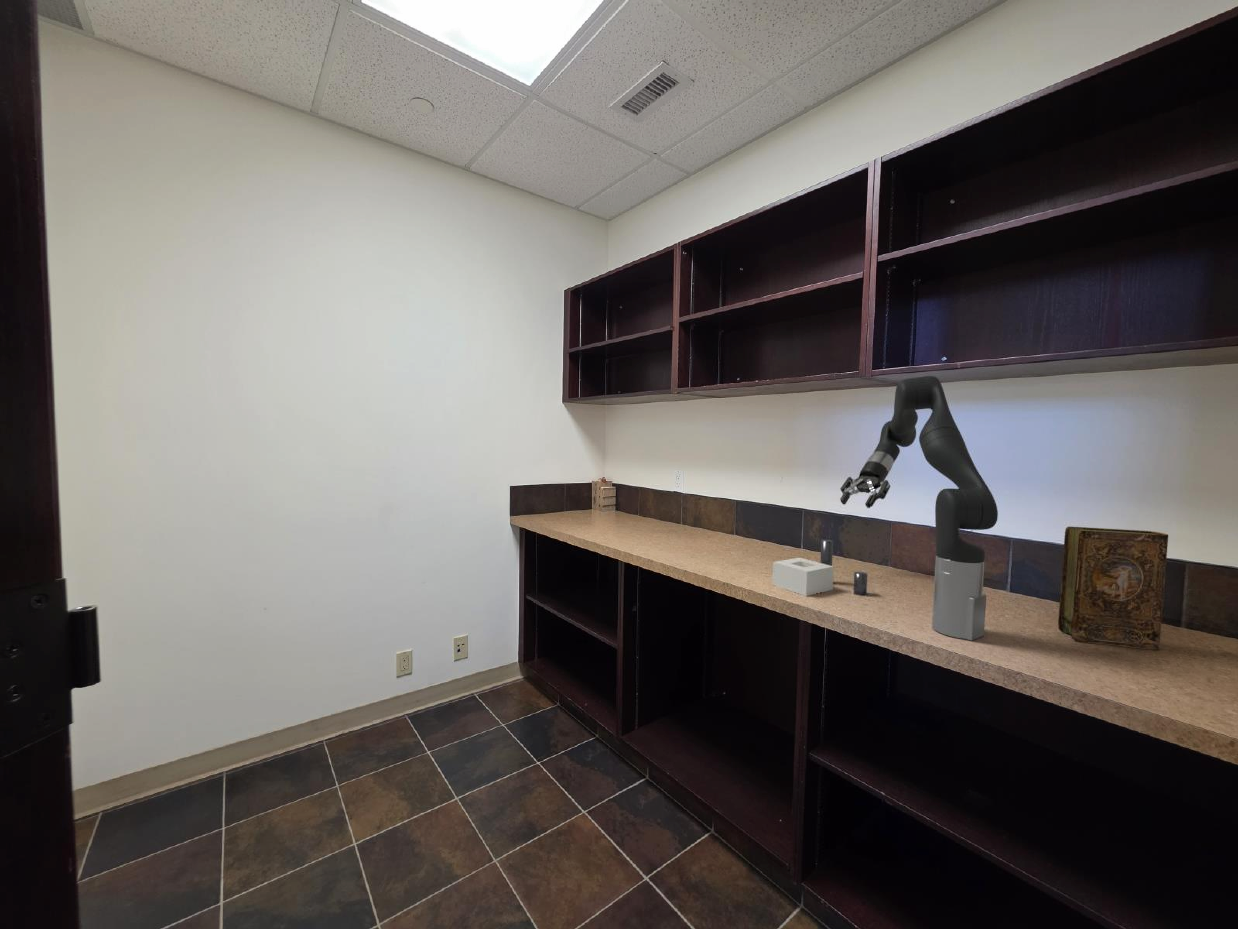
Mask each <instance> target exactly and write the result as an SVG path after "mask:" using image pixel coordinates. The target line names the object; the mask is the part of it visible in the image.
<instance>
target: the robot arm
mask: <svg viewBox="0 0 1238 929" xmlns="http://www.w3.org/2000/svg"><path fill="white" fill-rule="evenodd" d="M927 409H929V410H931V414H930V416H929V418H928V419H927V421H926V422H925V424H924V426H923V427H922V428H921V431H920V434H919V437H918V441H919V446H920V448H921V451H922V453H923V456H924V458H925V460H926V462H927V463H928V464H929V465H930V466H931V467H932V468H933V469H935V471H937V472H938V473H940V474H941V475H943V476H944V477H946V478H947V479H948V480H950V482H952V483H953V484H954V485H955V486H956V487H957V488H951V487H950V488H944V489H941V490H940V491H939V492H938V493H937V496H936V499H935V507H934V508H935V511H934V512H935V514H934V515H935V516H934V517H935V518H934V519H935V536H934V537H935V539H934V540H935V563H934V564H935V566H934V581H933V583H934V585H933V602H932V618H931V619H932V622H931V628H932V629H933V630H935V631H936V632H938V633H939V634H943V635H946V636H949V637H952V638H958V639H964V640H968V641H975V640H976V639H979V638H981V637H983V636H985V626H986V605H987V594H985V593H983V590H984V574H985V573H984V572H985V558H986V556H985V555H986V554H985V553H986V552H985V549H984V548H982V547H981V546H979V545H976V544H973V543H970V542H968V541H966V540H964V539H963V538H962V537H960V536H961V535H960V530H970V531H973V530H975V531H976V530H977V531H983V530H990V529H992V528H994V527H995V525H997V522H998V516H999V514H998V513H999V511H998V506H997V502H996V500H995V498H994V495H993V494H992V491H991V490H990V488H989V487H988V485H987V483H986V482H985V480H984V478H983V477H982V475H981V474H980V472H979V471H978V469H977V468H976V465H975V463H974V462H973V460H972V456H971V455H970V453H969V450H968V447H967V445H966V442H965V440H964V437H963V435H962V433H961V432H960V429H959V427H958V425H957V424H956V422H955V420H954V418H953V415H952V413H951V409H950V408H949V403H948V401H947V397H946V395H945V391H944V388H943V386H942V382H941V381H940V379H939V377H937V376H934V375H927V376H926V375H925V376H918V377H917V376H916V377H909V378H904V379H902V380H900V381H899V382H898V383H897V385H896V388H895V393H894V404H893V415H892V417H891V420H889V421H886V422H885V423H884V424H883V426H882V428H881V431H880V437H879V441H878V444H877V445H876V447H875V449H874V451H873V452H872V454H871V455H870V456H869V457H868V458H867V460H866V462H865V464H863V467H862V468H861V470H860V472H859V475H858V477H856V478H852V477H851V476H848V477H847V478H846V480H845V481H844V483H843V484H842V486H841V487H840V491H841V493H842V495H841V497H840V498H839V501H840V503H841V504H842V505H846V504H847V503H848V501H849V499H850V498H851V496H853V495H857V494H859V493H866V494H870V495H869V497H868V498H867V499H866V500H865V507H866V508H867V509H870V508H871V507H873V506H874V504H876V501H878V499H880V500H884V499H885V498H886V496H887V494H888V493H889V490H890V488H891V485H890V482H889V480H887V479H886V478H887V477H888V475H889V473H890V472H891V470H892V469H893V465H894V463H895V461H896V460H897V459H898V457H899V455H900V453H901V450H900V447H901V448H907V447H911V445H912V444H914V442H915V440H916V437H917V428H916V425H917V423H918V419H919V417H918V413H917V410H927ZM855 488H856V489H855ZM877 490H878V492H877Z"/></svg>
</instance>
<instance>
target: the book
mask: <svg viewBox="0 0 1238 929" xmlns="http://www.w3.org/2000/svg"><path fill="white" fill-rule="evenodd" d="M1063 540H1064V541H1063V542H1064V543H1063V553H1062V554H1063V556H1062V565H1061V566H1062V567H1061V578H1060V579H1061V582H1060V592H1059V595H1060V596H1059V608H1058V621H1057V622H1058V623H1057V624H1058V625H1057V627H1058V630H1059V631H1060V632H1061V633H1064V634H1066V635H1069V636H1071V639H1072V640H1074V641H1076V642H1082V643H1089V644H1097V645H1107V646H1114V647H1124V648H1133V649H1142V650H1151V651H1160V645H1161V633H1162V621H1163V606H1164V595H1165V583H1166V582H1165V581H1166V573H1167V572H1166V570H1167V569H1166V567H1167V556H1168V544H1169V534H1166V533H1164V532H1158V531H1151V530H1138V529H1137V530H1136V529H1120V528H1101V527H1100V528H1099V527H1083V526H1070V525H1069V526H1067V527H1065V531H1064V539H1063Z"/></svg>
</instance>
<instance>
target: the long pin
mask: <svg viewBox="0 0 1238 929" xmlns="http://www.w3.org/2000/svg"><path fill="white" fill-rule="evenodd" d="M833 552H834V541H833V540H831V539H820V558H819V560H820V562H819V563H822V564H826V565H830V566H833V555H834V553H833Z"/></svg>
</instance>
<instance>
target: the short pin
mask: <svg viewBox="0 0 1238 929" xmlns="http://www.w3.org/2000/svg"><path fill="white" fill-rule="evenodd" d="M853 574H854V576H853V591H852V592H854V593H853V594H854V595H856V596H861V597H863V596H865V597H866V596H867V592H868V575H869V574H868V572H865V571H854V573H853Z"/></svg>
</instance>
